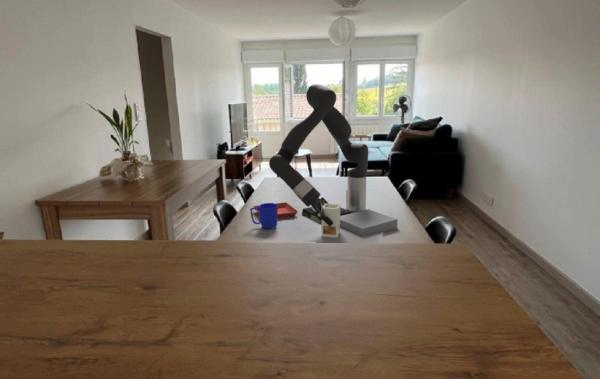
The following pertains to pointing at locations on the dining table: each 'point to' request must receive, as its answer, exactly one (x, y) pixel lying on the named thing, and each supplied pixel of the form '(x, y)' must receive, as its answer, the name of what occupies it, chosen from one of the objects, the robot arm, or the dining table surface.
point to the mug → (267, 215)
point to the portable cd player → (309, 214)
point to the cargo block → (330, 230)
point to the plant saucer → (283, 210)
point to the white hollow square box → (333, 214)
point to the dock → (367, 222)
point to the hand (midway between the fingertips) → (334, 221)
